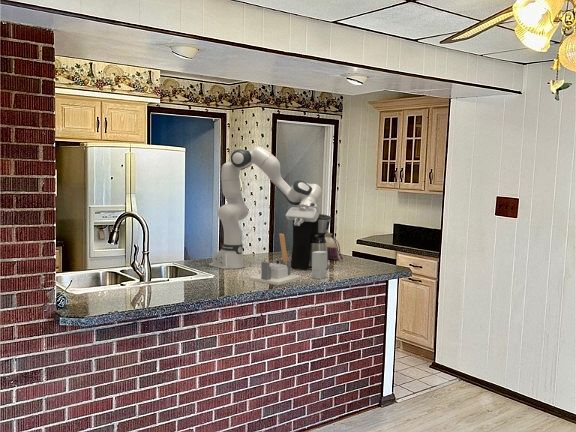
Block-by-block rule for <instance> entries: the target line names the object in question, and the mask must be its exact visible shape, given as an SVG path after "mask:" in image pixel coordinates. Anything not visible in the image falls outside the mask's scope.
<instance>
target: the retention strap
mask: <svg viewBox="0 0 576 432" xmlns="http://www.w3.org/2000/svg"><path fill="white" fill-rule="evenodd" d="M278 236H279V243H280V249H281V250H280V251H281V254H282V255H281V256H282V257H281V259H283V263H285V264H287V261H288V260H289V259H288V252H287V244H286V238H285V234H284V233H279V234H278Z"/></svg>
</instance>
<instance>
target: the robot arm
mask: <svg viewBox="0 0 576 432" xmlns="http://www.w3.org/2000/svg"><path fill="white" fill-rule="evenodd" d="M252 164H254V165H255V166H257V167H258V168H259V169H260V170H261V171H263V173H264V174H265V175H266V176H267V178H268V179H269V180H270V182H271V183H272V184H273V185H274V186H275V187H276V188H277V190H279V192H281V193H282V194H283V196H284V197H285V198H286V201H287V202H288V203H289V204H290V205H292V207H290V208H289V209H288V211H286V213H285V218H286V219H287V220H289V221H293V220H295V223H294V225H295V226H300V224H301V223H303V222H304V221H309V222H315V221H316V220H317V219H318V216H319V214H321V210H320V208H319V206H318V205H317V203H318V202H319V201H320V199H321V196H322V193H323V191H322V187H320V185H319V184H317V183H308V182H306V181H303V180H301V179H300V180H295V181H294V182H293V184H292V185H291V186H290V185H289V184H288V182H286V181H285V180H284V179H283V177H282V174H281V162H280V161H279V160H278V158H277V157H276V156H274V154H272V153H271V152H270V151H268V150H267V149H265V148H263V147H262V146H259V145H258V146H255V147H253V148H252V149H251V150H250V151H249V150H247V149H241V148H239V149H236V150H234V151H233V152H232V153H231V154H230V161H227V162H225V163H224V164H222V165H221V171H220V172H221V173H220V176H221V178H220V179H221V189H222V191H221V192H222V195H223V196H224V197H225V199H226V204H223V205H221V206H219V208H218V209H217V217H218V219H219V220H220V221H221V224H222V228H223V243H222V244H221V245H220V248H221V249H220V250H219V251H218V252H216V253H214V255H213V258H212V261H211V262H210V263H208V266H210V267H214V268H218V269H223V270H225V269H228V270H229V269H231V270H232V269H243V268H245V264H244V260H243V245H244V244H243V230H242V229H241V227H240V223H239V221H242V220H244V219H245V218H247V217H248V215H249V208H248V206H247V205H246V203H245V201H244V197H243V195H242V188H241V180H240V179H241V178H240V172H241V171H242V170H243V171H244V169H247V168H249V167H250V166H252ZM298 221H299V222H298Z"/></svg>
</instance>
